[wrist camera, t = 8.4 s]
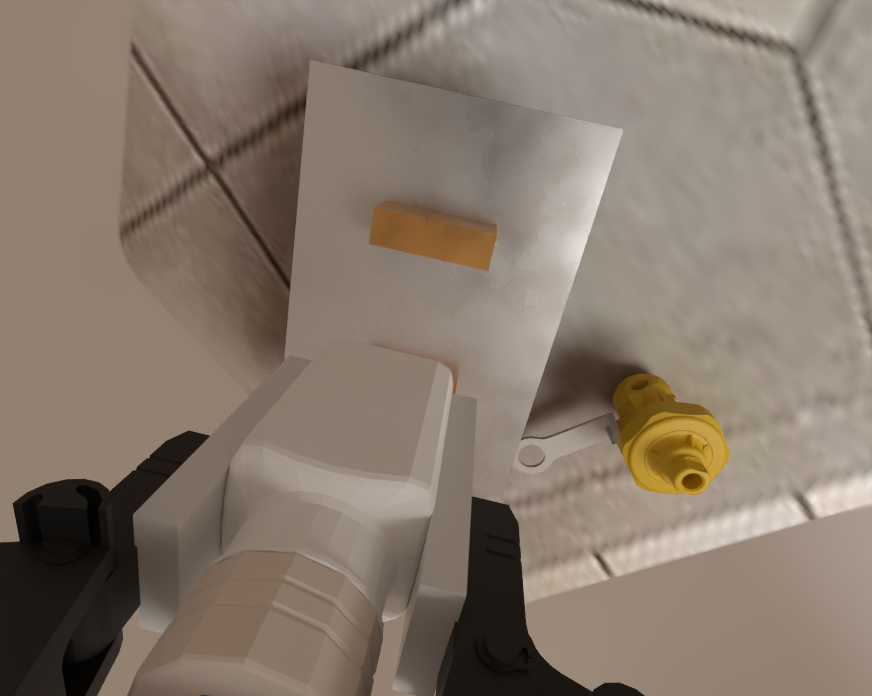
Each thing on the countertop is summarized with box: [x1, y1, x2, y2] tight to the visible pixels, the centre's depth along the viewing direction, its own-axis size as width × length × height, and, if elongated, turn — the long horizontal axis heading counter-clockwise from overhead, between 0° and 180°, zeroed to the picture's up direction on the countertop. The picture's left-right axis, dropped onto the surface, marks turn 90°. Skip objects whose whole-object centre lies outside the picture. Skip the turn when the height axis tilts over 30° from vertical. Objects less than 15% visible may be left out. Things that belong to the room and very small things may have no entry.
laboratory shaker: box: [284, 60, 623, 496], centre depth 26 cm, size 19×14×11 cm
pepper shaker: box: [127, 339, 453, 696], centre depth 11 cm, size 4×4×10 cm
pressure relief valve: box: [513, 374, 730, 495], centre depth 29 cm, size 6×12×10 cm, turn 119°
